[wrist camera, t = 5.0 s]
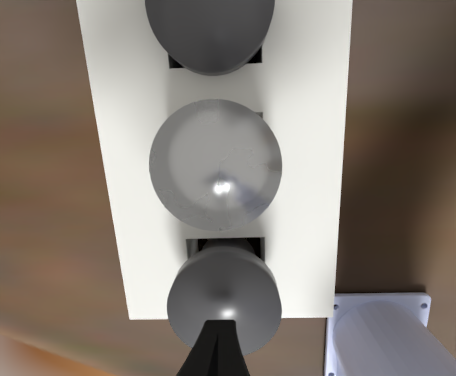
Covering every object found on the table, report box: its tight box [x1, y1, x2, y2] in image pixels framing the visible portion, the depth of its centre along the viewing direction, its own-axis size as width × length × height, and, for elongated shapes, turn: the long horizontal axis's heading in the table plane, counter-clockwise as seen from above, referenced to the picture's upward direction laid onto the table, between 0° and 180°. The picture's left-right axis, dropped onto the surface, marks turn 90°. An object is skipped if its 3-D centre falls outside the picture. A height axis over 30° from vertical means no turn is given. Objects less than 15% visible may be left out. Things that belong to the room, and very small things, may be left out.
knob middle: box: [149, 99, 282, 231], centre depth 14 cm, size 6×6×5 cm
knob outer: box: [145, 0, 275, 76], centre depth 14 cm, size 6×6×5 cm
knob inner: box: [167, 238, 282, 356], centre depth 16 cm, size 6×6×5 cm
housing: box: [76, 0, 353, 319], centre depth 17 cm, size 22×14×4 cm, turn 3°
